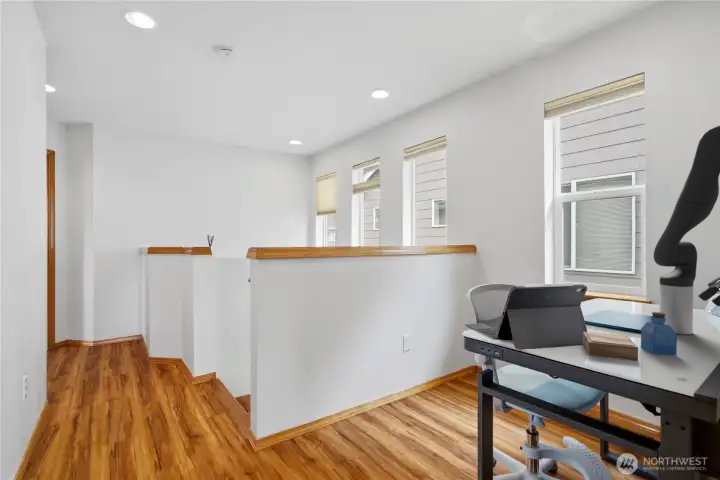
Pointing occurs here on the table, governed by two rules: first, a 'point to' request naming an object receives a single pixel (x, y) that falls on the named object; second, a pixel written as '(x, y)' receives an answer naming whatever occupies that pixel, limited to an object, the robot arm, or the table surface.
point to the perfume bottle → (658, 336)
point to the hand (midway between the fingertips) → (707, 301)
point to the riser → (610, 346)
